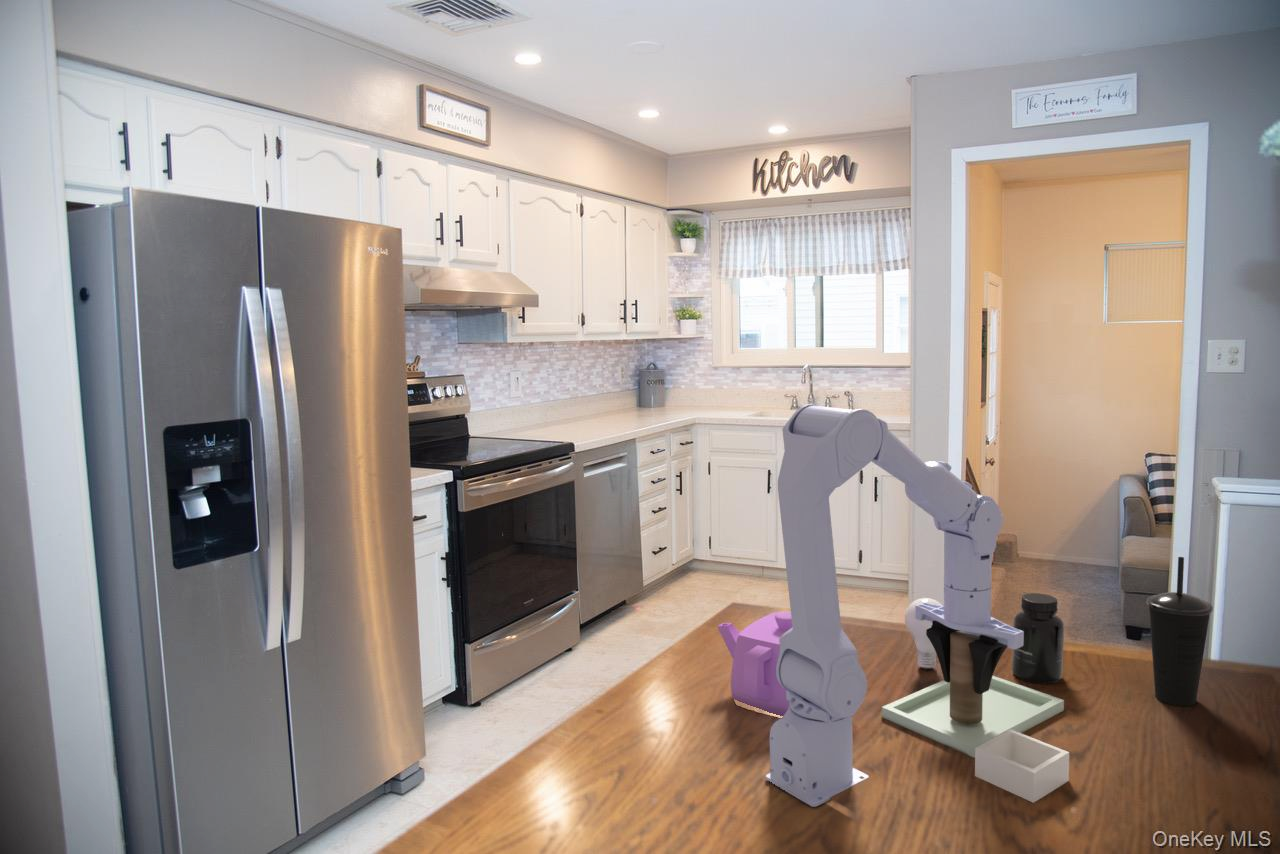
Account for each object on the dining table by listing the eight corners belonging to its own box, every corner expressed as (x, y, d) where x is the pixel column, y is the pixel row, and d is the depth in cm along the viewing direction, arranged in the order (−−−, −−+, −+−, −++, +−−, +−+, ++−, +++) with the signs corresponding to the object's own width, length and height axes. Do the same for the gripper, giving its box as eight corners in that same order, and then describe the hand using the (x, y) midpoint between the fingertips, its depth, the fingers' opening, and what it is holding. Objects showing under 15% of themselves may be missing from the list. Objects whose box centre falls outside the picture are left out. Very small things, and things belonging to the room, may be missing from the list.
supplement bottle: (1009, 680, 127) (1011, 601, 126) (1014, 663, 133) (1015, 588, 132) (1061, 688, 124) (1063, 607, 123) (1063, 670, 130) (1065, 593, 129)
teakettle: (746, 731, 115) (745, 641, 114) (716, 679, 132) (714, 601, 130) (868, 717, 118) (867, 630, 116) (823, 668, 134) (822, 591, 133)
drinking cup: (1189, 686, 123) (1195, 549, 121) (1220, 711, 116) (1227, 565, 113) (1133, 686, 124) (1138, 550, 121) (1159, 710, 116) (1165, 565, 114)
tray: (974, 762, 105) (975, 746, 105) (881, 721, 116) (881, 706, 116) (1063, 714, 116) (1064, 700, 116) (971, 681, 128) (971, 668, 127)
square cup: (1033, 807, 95) (1034, 773, 95) (974, 780, 101) (975, 747, 100) (1068, 785, 99) (1069, 752, 99) (1010, 760, 105) (1010, 729, 104)
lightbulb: (895, 665, 134) (896, 596, 133) (927, 657, 137) (927, 589, 136) (925, 680, 129) (925, 608, 127) (957, 671, 131) (958, 601, 130)
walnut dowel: (971, 727, 111) (971, 644, 109) (943, 716, 114) (943, 635, 113) (988, 717, 113) (989, 636, 112) (961, 707, 116) (961, 628, 115)
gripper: (1038, 591, 108) (1036, 695, 109) (938, 566, 120) (937, 661, 121) (1005, 603, 104) (1003, 711, 105) (905, 576, 115) (905, 674, 117)
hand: (966, 685), depth 113 cm, fingers closed on walnut dowel, 4 cm apart
